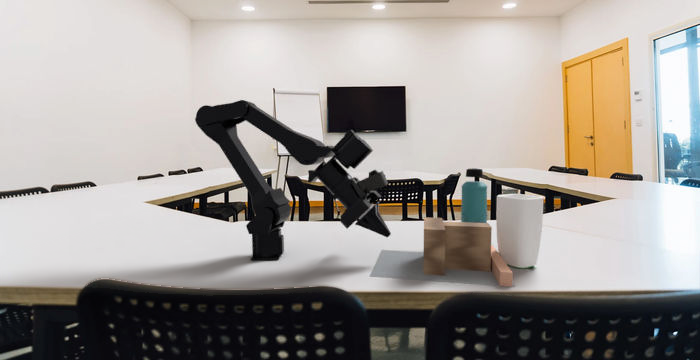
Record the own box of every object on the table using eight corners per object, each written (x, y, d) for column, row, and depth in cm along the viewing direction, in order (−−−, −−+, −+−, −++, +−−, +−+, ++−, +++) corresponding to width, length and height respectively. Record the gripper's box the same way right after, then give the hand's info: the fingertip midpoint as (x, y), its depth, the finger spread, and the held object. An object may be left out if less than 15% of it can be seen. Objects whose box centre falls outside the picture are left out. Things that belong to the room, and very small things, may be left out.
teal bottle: (489, 249, 84) (491, 169, 82) (461, 247, 85) (462, 169, 83) (484, 242, 90) (486, 167, 88) (458, 241, 91) (459, 167, 90)
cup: (522, 273, 67) (524, 199, 66) (491, 263, 73) (493, 195, 72) (544, 267, 70) (547, 196, 69) (513, 258, 77) (515, 193, 75)
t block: (423, 274, 66) (423, 229, 65) (423, 255, 77) (424, 217, 77) (494, 279, 63) (495, 231, 62) (483, 259, 74) (484, 219, 74)
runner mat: (369, 278, 65) (369, 263, 65) (381, 251, 82) (381, 239, 82) (515, 288, 59) (515, 272, 59) (494, 257, 77) (495, 245, 77)
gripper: (357, 158, 63) (415, 219, 62) (372, 157, 81) (417, 204, 80) (317, 198, 66) (372, 257, 64) (340, 188, 84) (384, 234, 82)
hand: (389, 235), depth 73 cm, fingers closed
